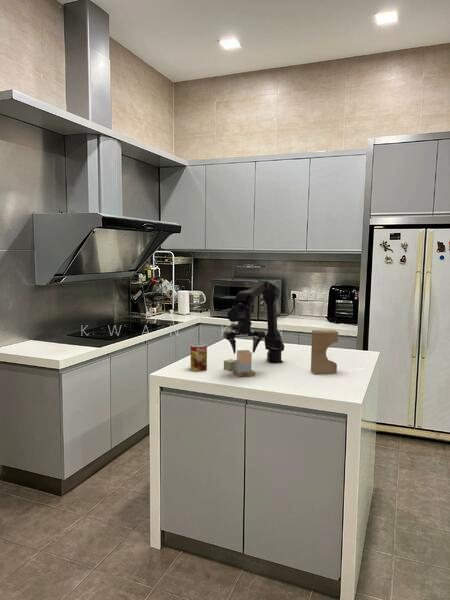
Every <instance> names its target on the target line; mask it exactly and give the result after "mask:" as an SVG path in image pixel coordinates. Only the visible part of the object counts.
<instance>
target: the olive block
mask: <svg viewBox="0 0 450 600" xmlns="http://www.w3.org/2000/svg"><path fill="white" fill-rule="evenodd" d="M235 360H236V359H233V358H230V359H225V360H223V370H225V371H228V372H230V373H231V372H233V369H235Z"/></svg>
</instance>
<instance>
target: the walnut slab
mask: <svg viewBox="0 0 450 600" xmlns="http://www.w3.org/2000/svg"><path fill="white" fill-rule="evenodd" d="M232 374H233V375H234V376H235V377H236V378H239V379H240V378H255V377H256V371H254V370H253V369H251V372H241V373H238V372H237V371H236V370H235V369H233V371H232Z"/></svg>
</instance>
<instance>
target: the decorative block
mask: <svg viewBox="0 0 450 600" xmlns="http://www.w3.org/2000/svg"><path fill="white" fill-rule="evenodd" d="M338 342H339V332H338V330H334V329H319V330H318V329H317V330H316V329H314V330H312V332H311V348H310V349H311V351H310V352H311V354H310V355H311V356H310V357H311V358H310V372H311V373H312V374H314V375H331V374H332V375H334V374H337V373H338V369H337V368H338V364H337V362H335V361H333V360H329V358H328V357H327V350H328V348H329V347H330V346H331V345H332V344H333V343H338Z"/></svg>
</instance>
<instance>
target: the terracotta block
mask: <svg viewBox="0 0 450 600" xmlns="http://www.w3.org/2000/svg"><path fill="white" fill-rule="evenodd" d="M252 355H253V351H252V352H251V351H250V350H249V349H241V350H237V349H236V360H237V361H239V362H240V363H245V362H251V363H252V361H253V359H252Z"/></svg>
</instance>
